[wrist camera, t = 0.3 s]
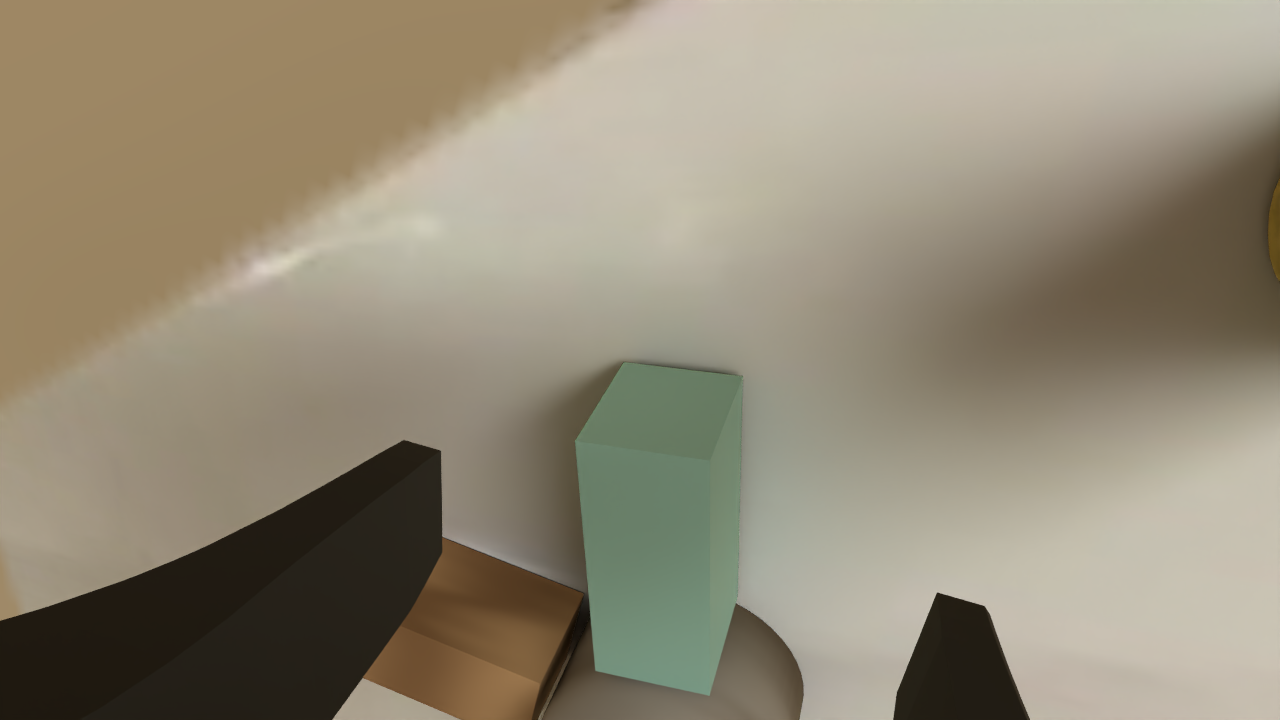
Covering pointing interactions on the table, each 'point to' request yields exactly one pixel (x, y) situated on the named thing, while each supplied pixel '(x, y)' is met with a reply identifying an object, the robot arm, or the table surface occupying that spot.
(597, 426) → the folding leg
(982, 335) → the table surface
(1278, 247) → the vase
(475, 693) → the stool base
